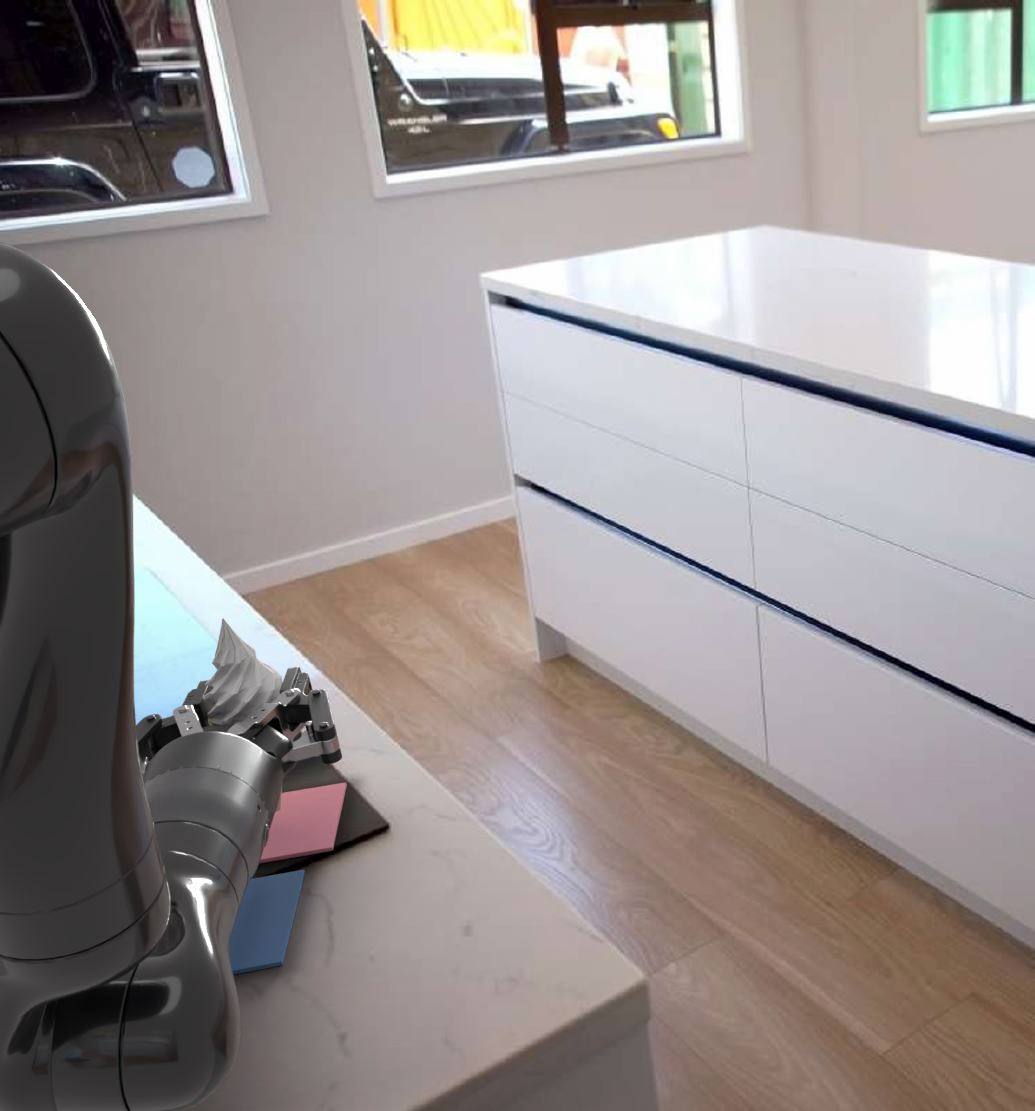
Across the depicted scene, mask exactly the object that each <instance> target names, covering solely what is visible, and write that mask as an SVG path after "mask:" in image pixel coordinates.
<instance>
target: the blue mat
mask: <svg viewBox="0 0 1035 1111" xmlns="http://www.w3.org/2000/svg"><path fill="white" fill-rule="evenodd" d="M305 875H306V871H305V869H300V870H295V871H289V872H283V873H278V874H273V875H265V876H261V877H253V878H252V880H251V881H250V883H249V885H248V886H247V888H246V891H245V893H244V896H243V900H242V903H241V906H240V909H239V912H238V915H237V919H236V923H235V926H234V930H233V936H232V947H231V959H232V969H233V974H234V975H238V974H243V973H249V972H255V971H260V970H264V969H270V968H276V967H280V966H284V961H285V957H286V954H287V948H288V945H289V940H290V938H291V937H290V936H291V933H292V928H293V924H294V919H295V916H296V912H297V908H298V905H299V904H298V903H299V899H300V896H301V891H302V887H303V884H304V879H305Z"/></svg>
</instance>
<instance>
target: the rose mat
mask: <svg viewBox="0 0 1035 1111" xmlns="http://www.w3.org/2000/svg"><path fill="white" fill-rule="evenodd" d="M347 787H348V784H347V782H346V781H345V782H340V783H333V784H328V785H322V786H316V787H310V788H303V789H297V790H292V791H287V792H286V791H285V792H282V796H281V809H280V810H279V811H277V812H275V815H274V818H273V821H272V824H271V827H270V830H269V839H268V842H267V844H266V846H265V847H264V850H263V853H262V856H261V859H260V862H259V864H264V863H270V862H277V861H281V860H288V859H292V858H298V857H299V858H300V857H305V856H309V855H315V854H321V853H327V852H328V853H329V852H332V851H333V850H334V846H335V842H336V839H337V838H336V837H337V833H338V828H339V824H340V819H341V814H342V810H343V805H344V800H345V796H346V791H347Z"/></svg>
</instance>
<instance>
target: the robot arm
mask: <svg viewBox="0 0 1035 1111" xmlns="http://www.w3.org/2000/svg"><path fill="white" fill-rule="evenodd" d="M133 472H134V471H133V450H132V439H131V428H130V420H129V414H128V408H127V402H126V397H125V392H124V389H123V386H122V382H121V379H120V375H119V372H118V368H117V366H116V362H115V358H114V355H113V352H112V350H111V348H110V346H109V344H108V342H107V340H106V338H105V336H104V334H103V332H102V329H101V328H100V326H99V324H98V322H97V321H96V319H95V317H94V316H93V315H92V313H91V311H90V310H89V309H88V308H87V306H86V305H85V303H84V301H83V300H82V299H81V298H80V296H79V295H78V293H76V292H75V291H74V289H72V287H71V286H69V284H68V283H66V281H65V280H63V278H62V277H61V276H59V274H57V273H56V271H54V270H53V269H52V268H50V267H49V266H47V265H46V264H45V263H44V262H42V261H41V260H39V259H38V258H36V257H35V256H33V255H31V254H30V253H28V252H26V251H24V250H21V249H19V248H18V247H15V246H12V245H11V244H8V243H5V242H1V241H0V1111H188V1110H190V1109H192V1108H194V1107H196V1106H198V1105H199V1104H201V1103H202V1102H204V1101H205V1100H207V1099H208V1098H209V1097H210V1096H212V1094H214V1093H215V1092H216V1091H217V1090H218V1089H219V1087H220V1086H222V1085H223V1083H224V1082H225V1080H226V1079H227V1077H228V1076H229V1074H230V1073H231V1072H232V1069H233V1067H234V1065H235V1062H236V1059H237V1057H238V1053H239V1049H240V1044H241V1034H242V1030H241V1028H242V1027H241V1026H242V1024H241V1011H240V1009H241V1008H240V1004H239V1003H240V1001H239V997H238V991H237V985H236V980H235V974H233V969H232V959H231V947H232V936H233V930H234V926H235V923H236V919H237V915H238V912H239V909H240V906H241V903H242V900H243V896H244V893H245V891H246V888H247V886H248V885H249V883H250V881H251V880H252V879H254V877H255V874H256V872H257V870H258V867H259V865H260V863H259V862H260V859H261V856H262V853H263V850H264V847H265V846H266V844H267V842H268V839H269V830H270V827H271V824H272V821H273V818H274V815H275V811H276V808H277V805H278V802H279V798H280V794H281V789H282V790H283V783H284V782H283V781H284V779H285V778H286V776H288V774H290V773H291V772H293V770H294V769H295V767H296V765H297V762H299V761H303V760H306V759H310V758H314V757H315V758H316V757H320V758H321V762H322V764H325V765H332V764H336V763H338V762H340V761H341V760H342V758H343V754H342V749H341V746H340V741H339V736H338V732H337V727H336V724H335V719H334V715H333V712H332V707H331V704H330V700H329V695H328V691H327V690H326V689H325V688H317V689H316V688H315V689H313V686H312V683H311V678H310V675H309V673H308V672H307V671H304V672H302V670H301V667H300V666H293V667H288V668H287V670H286V672H285V674H284V678H283V679H282V686H281V689H280V695H279V696H278V697H277V698H276V699H274V700H273V701H272V702H271V703H261V704H260V705H259V706H258V707H257V708H256V709H255V710H254V711H253V712H252V713H251V714H250V715H248V716H247V717H246V718H245V719H244V720H243V721H241V722H236V723H233V724H229V725H214V726H210V724H209V723H208V715H207V714H208V712H209V711H210V710H211V709H212V708H213V707H214V706H215V704H214V703H207V702H206V701H205V700H204V699H203V697H204V696H205V695H206V694H208V693H209V692H211V691H212V690H213V687H211V686H206V682H207V681H208V680H209V679H208V680H200V681H199V683H198V685H197V686H196V688H194V689H191V690H190V691H188V692H187V694H186V696H185V699H184V700H183V703H182V704H181V706H178V707H176V708H174V709H173V710H172V715H171V716H170V715H169V716H167V717H164V718H162V715H161V714H158V713H154V714H149V715H147V716H144V717H143V718H142V719H141V720H139V721H138V723H137V721H136V719H137V718H136V707H135V706H136V705H135V622H136V621H135V619H136V618H135V617H136V613H135V611H136V610H135V608H136V606H135V600H136V599H135V556H134V552H135V551H134V549H135V548H134V473H133ZM304 728H305V730H303V729H304ZM302 730H303V731H302ZM301 731H302V733H301V736H300V737H299V738H298V739H297V740H294V739H295V738H296V737H297V735H298V734H299V733H300V732H301Z"/></svg>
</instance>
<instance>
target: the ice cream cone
mask: <svg viewBox="0 0 1035 1111" xmlns="http://www.w3.org/2000/svg"><path fill="white" fill-rule="evenodd" d="M220 626H221V627H220V631H219V634H218V641H217V646H216V650H215V653H214V657H213V659H212V662H211V664H212V665H213V666H214V667H215V669H216V671H215V673H214V674H213V675H212V677H210V678H209V679H208V681H207V682H206V686H211V687H213V690H212V691H211V692H209V693H208V694H206V695H205V696H204V697H203V699H204V700H205V701H206V702H207V703H214V704H215V706H214V707H213V708H212V709H211V710H210V711H209V712H208V714H207V715H208V723H209V724H210V726H214V725H229V724H233V723H236V722H241V721H243V720H244V719H245V718H246V717H247V716H248V715H250V714H251V713H252V712H253V711H254V710H255V709H256V708H257V707H258V706H259V705H260V704H261V703H271V702H272V701H273V700H274V699H276V698H277V697H278V696H279V695H280V689H281V686H282V683H283V678H282V675H281V674H280V673H279V672H278V671H277V670H275V668H273V667H272V665H270V664H269V663H267V662H263V661H261V660H259V659H258V658H257V653H256V652H257V651H256V649H255V648H254V647H252V646H251V645H250V644H248V643H247V642H246V641H244V640H243V639H242V638H241V637H240V636H239V635H238V634H237V633H236V632H235V630H234V629H233V628H232V627H231V625H230V624H229V622H227V621H226V619H225V618H224V617H223V618H222V619H221V625H220ZM282 793H283V788H282V789H281V794H280V798H279V802H278V805H277V808H276V811H275V812H277V811H279V810H280V809H281V796H282Z"/></svg>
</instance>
